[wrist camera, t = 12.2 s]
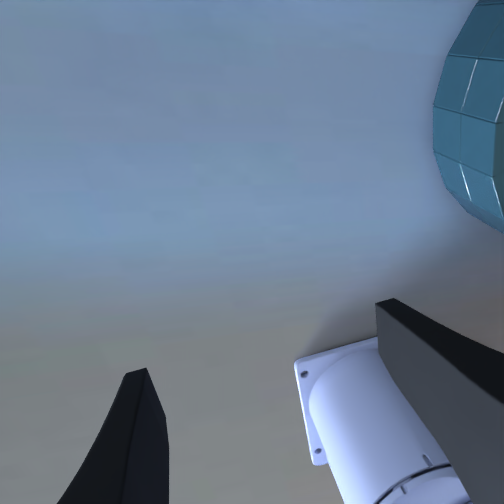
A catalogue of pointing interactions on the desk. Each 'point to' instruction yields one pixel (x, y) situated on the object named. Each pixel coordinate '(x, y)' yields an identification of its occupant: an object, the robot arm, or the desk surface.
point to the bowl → (474, 115)
